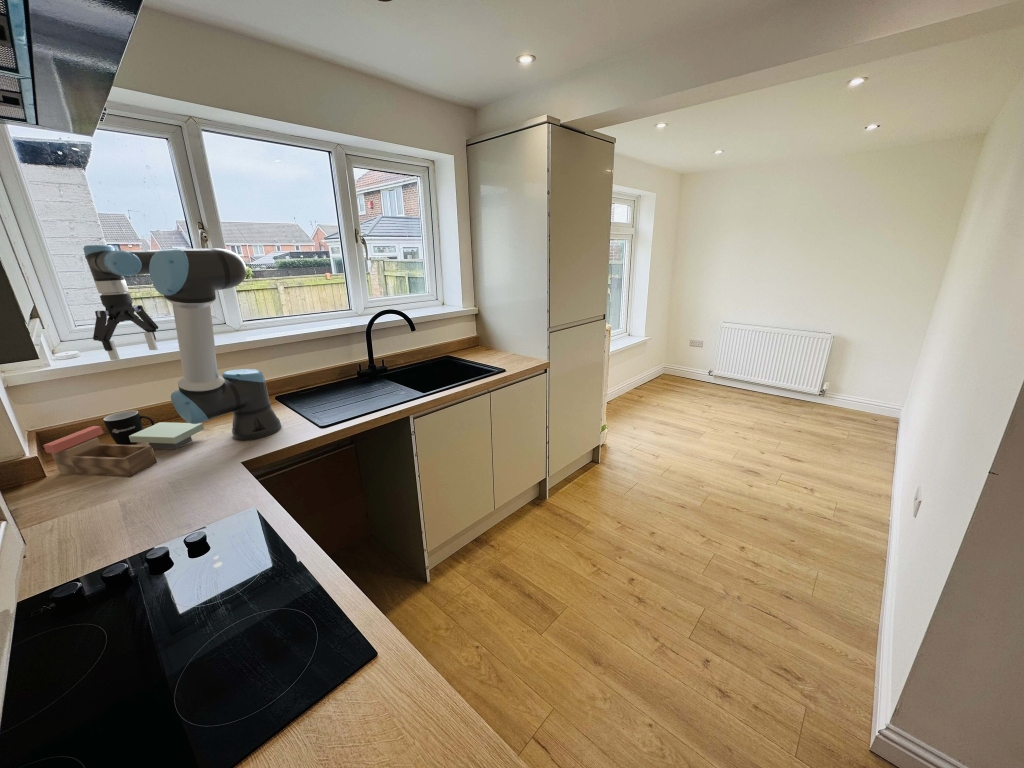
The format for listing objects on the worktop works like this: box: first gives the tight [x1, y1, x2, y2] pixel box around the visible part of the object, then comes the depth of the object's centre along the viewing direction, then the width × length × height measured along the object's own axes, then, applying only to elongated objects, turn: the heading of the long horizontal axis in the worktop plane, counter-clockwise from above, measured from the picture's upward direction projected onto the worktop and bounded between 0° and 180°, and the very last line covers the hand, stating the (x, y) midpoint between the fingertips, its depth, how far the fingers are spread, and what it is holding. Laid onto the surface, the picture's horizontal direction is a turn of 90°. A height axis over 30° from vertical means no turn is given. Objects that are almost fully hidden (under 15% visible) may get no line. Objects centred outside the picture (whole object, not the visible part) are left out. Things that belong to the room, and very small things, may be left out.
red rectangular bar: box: [42, 425, 104, 454], centre depth 121 cm, size 3×13×2 cm, turn 173°
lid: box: [129, 421, 205, 444], centre depth 137 cm, size 17×11×2 cm, turn 83°
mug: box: [102, 410, 155, 445], centre depth 140 cm, size 12×9×10 cm
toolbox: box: [50, 437, 158, 478], centre depth 122 cm, size 24×8×8 cm, turn 83°
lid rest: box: [148, 436, 193, 450], centre depth 137 cm, size 10×6×4 cm, turn 83°
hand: (135, 354), depth 142 cm, fingers open, 13 cm apart
